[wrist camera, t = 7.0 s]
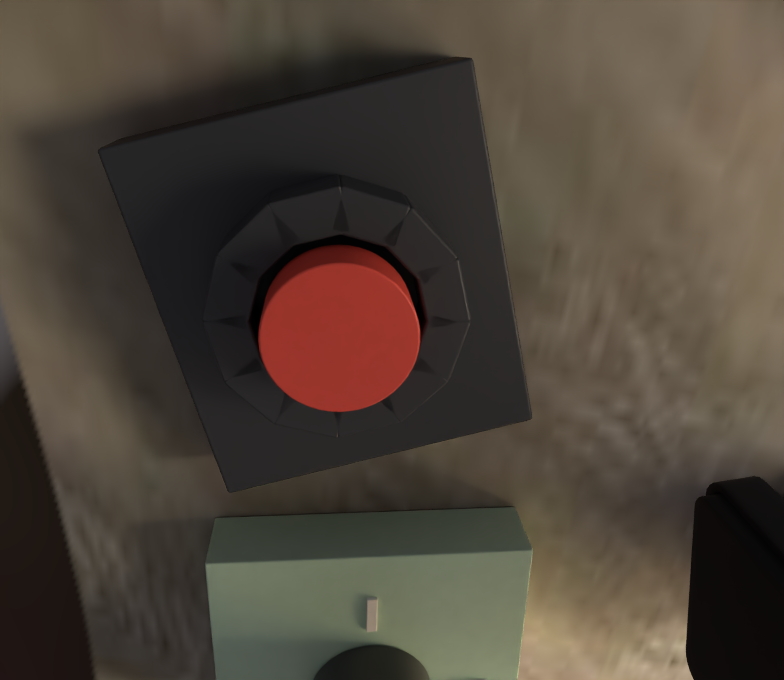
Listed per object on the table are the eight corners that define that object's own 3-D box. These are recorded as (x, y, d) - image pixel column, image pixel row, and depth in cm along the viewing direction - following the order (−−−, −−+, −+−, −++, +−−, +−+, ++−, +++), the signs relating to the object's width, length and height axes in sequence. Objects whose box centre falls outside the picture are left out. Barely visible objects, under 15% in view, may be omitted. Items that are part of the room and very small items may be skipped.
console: (490, 734, 31) (505, 794, 29) (235, 752, 30) (227, 814, 28) (515, 506, 26) (534, 553, 24) (214, 517, 25) (203, 567, 23)
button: (425, 363, 20) (434, 392, 18) (287, 398, 20) (284, 428, 18) (394, 227, 18) (401, 244, 17) (244, 264, 18) (236, 285, 17)
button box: (515, 389, 25) (550, 450, 21) (235, 457, 25) (220, 530, 21) (457, 56, 20) (488, 57, 17) (118, 139, 20) (72, 159, 17)
